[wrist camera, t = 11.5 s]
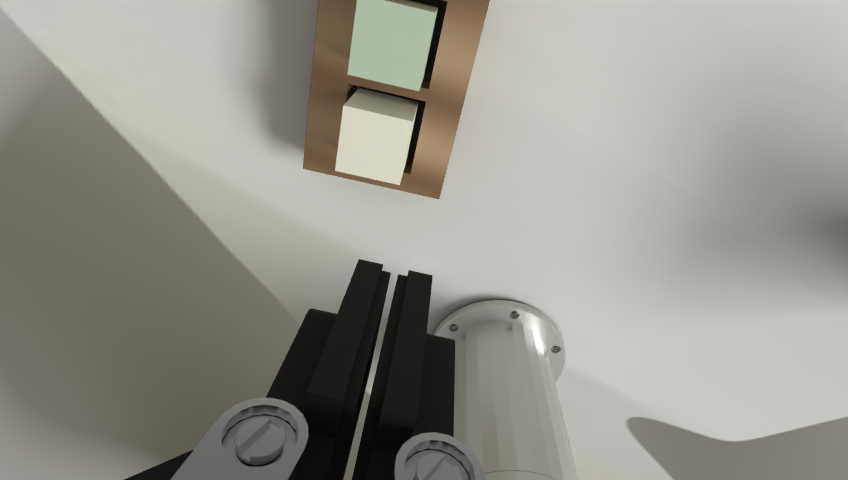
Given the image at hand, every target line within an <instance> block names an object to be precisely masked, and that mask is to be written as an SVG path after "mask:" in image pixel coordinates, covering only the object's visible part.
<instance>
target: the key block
mask: <svg viewBox="0 0 848 480" xmlns="http://www.w3.org/2000/svg"><path fill="white" fill-rule="evenodd" d="M443 1H447V2H448V3H447V7H446V12H445V17H444V21H443V26H442V30H441V35H440V40H439V44H438V49H437V54H436V58H435V63H434V68H433V72H432V77H431V80H427V79H423V81H422V84H421V87H420V90H419V91H415V90H411V89H406V88H402V87H398V86H394V85H390V84H385V83H381V82H377V81H373V80H368V79H364V78H360V77H356V76H351V75H347V74H348V66H349V58H350V50H351V43H352V35H353V27H354V20H355V12H356V4H357V0H319V1H318V12H317V23H316V34H315V44H314V55H313V66H312V76H311V87H310V98H309V109H308V119H307V130H306V141H305V151H304V162H303V169H307V170H311V171H316V172H320V173H325V174H329V175H334V176H338V177H343V178H347V179H351V180H356V181H360V182H365V183H369V184H374V185H378V186H383V187H387V188H392V189H396V190H400V191H405V192H409V193H414V194H418V195H423V196H427V197H432V198H436V199H439V197H440V193H441V189H442V186H443V182H444V178H445V174H446V170H447V166H448V162H449V158H450V154H451V150H452V146H453V142H454V138H455V135H456V131H457V127H458V123H459V119H460V115H461V111H462V107H463V103H464V99H465V95H466V91H467V87H468V83H469V80H470V76H471V72H472V68H473V64H474V60H475V56H476V52H477V48H478V44H479V40H480V36H481V32H482V29H483V25H484V21H485V17H486V13H487V9H488V5H489V1H490V0H443ZM355 85H357V86H362V87H366V88H370V89H374V90H379V91H383V92H387V93H392V94H396V95H400V96H404V97H409V98H413V99H417V100H421V101H426V105H425V109H424V114H423V119H422V123H421V128H420V133H419V137H418V142H417V147H416V151H415V156H414V160H413V159H408V158H407V161H406V164H405V168H404V171H403V175H402V179H401V182H400V185H396V184H392V183H387V182H383V181H378V180H374V179H370V178H365V177H361V176H356V175H352V174H347V173H343V172H338V171H335V166H336V159H337V151H338V143H339V136H340V128H341V120H342V112H343V105H344V104H345V103H346V102H347V101H348V100H349V99H350V97H351V96H352V95H353V94H354V91H355Z"/></svg>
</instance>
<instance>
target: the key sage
mask: <svg viewBox="0 0 848 480" xmlns="http://www.w3.org/2000/svg"><path fill="white" fill-rule="evenodd" d="M437 12H438V7H436V6H431V5H427V4H423V3H419V2H415V1H411V0H357V4H356V12H355V20H354V27H353V35H352V43H351V50H350V58H349V66H348V74H347V75H351V76H356V77H360V78H364V79H368V80H373V81H377V82H381V83H385V84H390V85H394V86H398V87H402V88H406V89H411V90H415V91H419V90H420V87H421V84H422V81H423V78H424V75H425V70H426V65H427V60H428V55H429V51H430V46H431V41H432V36H433V31H434V27H435V22H436V17H437Z"/></svg>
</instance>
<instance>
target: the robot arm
mask: <svg viewBox="0 0 848 480" xmlns="http://www.w3.org/2000/svg"><path fill="white" fill-rule="evenodd" d="M382 268H383V264H378V263H374V262H369V261H365V260H360V259H359V261H358V263H357V266H356V268H355V271H354V273H353V276H352V278H351V281H350V283H349V286H348V289H347V291H346V294H345V296H344V299H343V301H342V304H341V306H340V309H339V312H338V314H334V313H329V312H325V311H320V310H316V309H310V310H309V311H308V313H307V314H306V316H305V319H304V321H303V323H302V325H301V327H300V329H299V331H298V333H297V335H296V337H295V339H294V341H293V343H292V345H291V347H290V349H289V351H288V354H287V355H286V357H285V359H284V362H283V364H282V366H281V368H280V370H279V372H278V374H277V376H276V378H275V380H274V382H273V384H272V386H271V388H270V390H269V392H268V394H267V396H266V398H255V399H251V400H248V401H244V402H241V403H239V404H237V405H236V406H234V407H232V408H230V409H228V410H227V411H226V412H225V413H224V414H223V415H222V416H221V417H220V418H219V419H218V420H217V421H216V423H215V424H214V425H213V426H212V428H211V429H210V430H209V432H208V433H207V434H206V435H205V437H204V438H203V439H202V440H201V442H200V443H199V444H198V445H197V447H196V448H195V449H194V450H192V451H189V452H187V453H185V454H183V455H180V456H178V457H176V458H173V459H171V460H169V461H166V462H164V463H162V464H160V465H157V466H155V467H153V468H150V469H148V470H146V471H143V472H141V473H139V474H137V475H134V476H132V477H129V478H127V479H125V480H343V478H344V474H345V470H346V466H347V462H348V458H349V454H350V450H351V446H352V442H353V438H354V433H355V429H356V425H357V421H358V417H359V413H360V409H361V405H362V401H363V397H364V393H365V389H366V385H367V381H368V377H369V372H370V368H371V364H372V359H373V354H374V349H375V345H376V340H377V335H378V331H379V326H380V321H381V317H382V312H383V307H384V303H385V298H386V293H387V288H388V284H389V279H390V274H391V273H389V272H385V271H382ZM431 285H432V275H428V274H423V273H419V272H414V271H410V270H409V272H408V276H403V275H398V278H397V282H396V287H395V291H394V296H393V300H392V304H391V309H390V313H389V317H388V322H387V326H386V330H385V335H384V339H383V344H382V348H381V352H380V357H379V361H378V365H377V370H376V374H375V379H374V383H373V387H372V392H371V396H370V400H369V405H368V410H367V414H366V418H365V423H364V427H363V432H362V436H361V442H360V446H359V450H358V455H357V459H356V464H355V468H354V473H353V478H352V480H578V476H577V472H576V468H575V464H574V460H573V455H572V451H571V447H570V443H569V439H568V434H567V430H566V426H565V422H564V418H563V414H562V409H561V405H560V401H559V397H558V393H557V388H556V384H555V383H556V381H557V380H558V378H559V377H560V375H561V373H562V370H563V368H564V365H565V356H566V353H565V347H564V343H563V340H562V337H561V334H560V332H559V330H558V329H557V327H556V325H555V324H554V323H553V322H552V321H551V320H550V319H549V318H548V317H547V316H546V315H544V314H543V313H541V312H540V311H538V310H537V309H535V308H532V307H530V306H528V305H526V304H522V303H518V302H514V301H505V300H489V301H482V302H477V303H473V304H470V305H467V306H465V307H462V308H460V309H458V310H457V311H455V312H453V313H452V314H450V315H449V316H448V317H447V318H445V319H444V320H443V321H442V322H441V323H440V325H439V326H438V327H437V329H436V330H435V332H434V334H433V335H431V334H426V333H427V323H428V314H429V304H430V295H431Z"/></svg>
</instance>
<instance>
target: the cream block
mask: <svg viewBox="0 0 848 480" xmlns="http://www.w3.org/2000/svg"><path fill="white" fill-rule="evenodd" d="M418 104H419V102H417V101H412V100H408V99H404V98H399V97H395V96H391V95H387V94H382V93H378V92H374V91H370V90H365V89H361V88H358V89H357V91H356V92H355V93H354V94H353V95H352V96H351V97H350V99H349V100H348V101H347V102H346V103H345V104H344V105H343V112H342V120H341V128H340V136H339V143H338V151H337V159H336V166H335V171H338V172H343V173H347V174H352V175H356V176H361V177H365V178H370V179H374V180H378V181H383V182H387V183H392V184H396V185H400V182H401V179H402V175H403V171H404V168H405V164H406V161H407V157H408V152H409V147H410V142H411V137H412V132H413V128H414V123H415V118H416V113H417V108H418Z"/></svg>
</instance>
